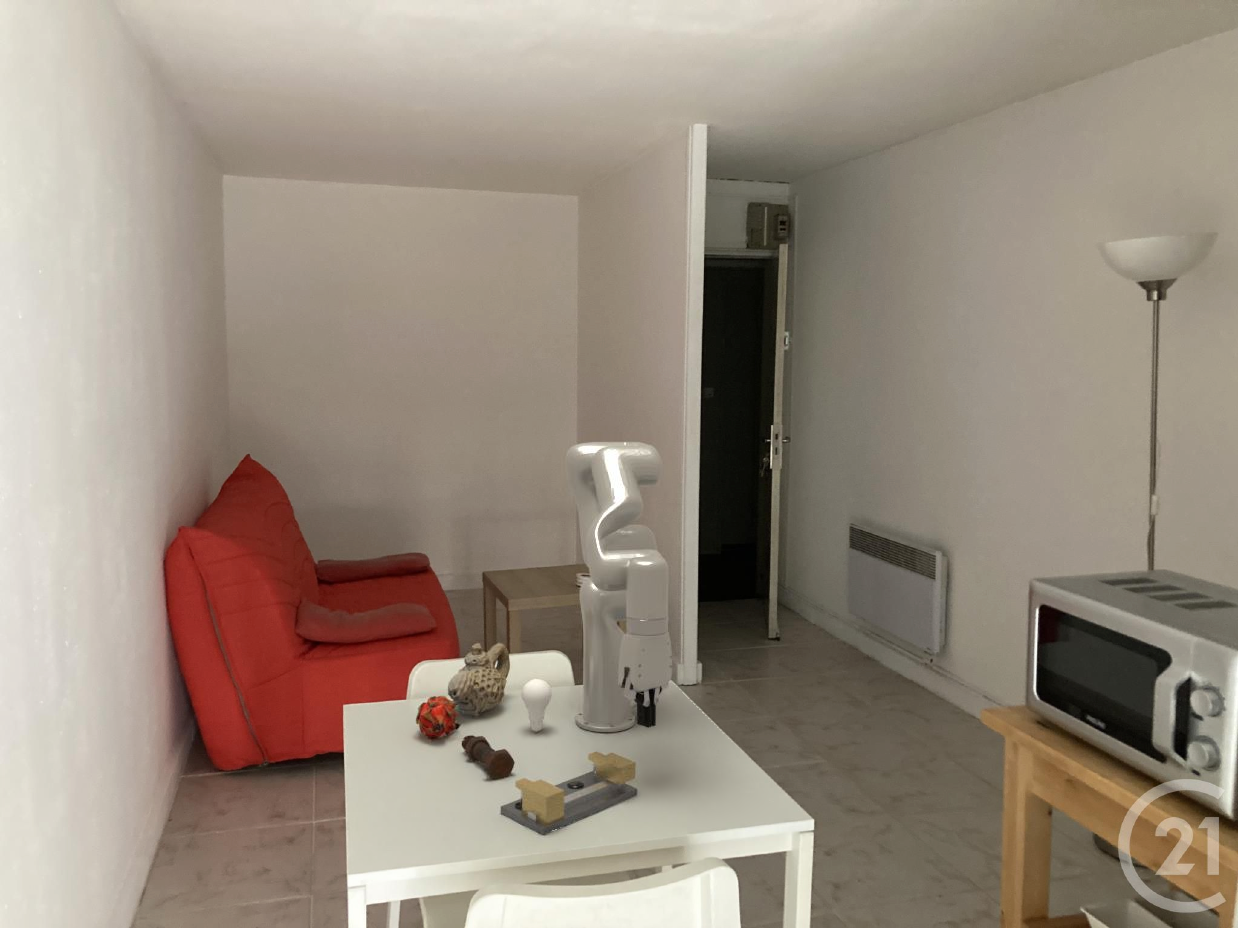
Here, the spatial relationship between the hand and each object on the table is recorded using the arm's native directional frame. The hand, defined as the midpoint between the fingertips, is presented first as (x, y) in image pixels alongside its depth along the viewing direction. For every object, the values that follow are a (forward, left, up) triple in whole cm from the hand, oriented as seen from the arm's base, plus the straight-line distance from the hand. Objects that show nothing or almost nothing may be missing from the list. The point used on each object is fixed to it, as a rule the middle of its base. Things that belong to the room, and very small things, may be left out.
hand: (646, 724), depth 185 cm
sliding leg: (+7, -2, -9) cm, 12 cm away
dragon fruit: (+14, -45, -11) cm, 48 cm away
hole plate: (+16, -3, -11) cm, 19 cm away
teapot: (-1, -51, -11) cm, 52 cm away
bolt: (+16, -27, -11) cm, 33 cm away
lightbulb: (-2, -33, -11) cm, 34 cm away
